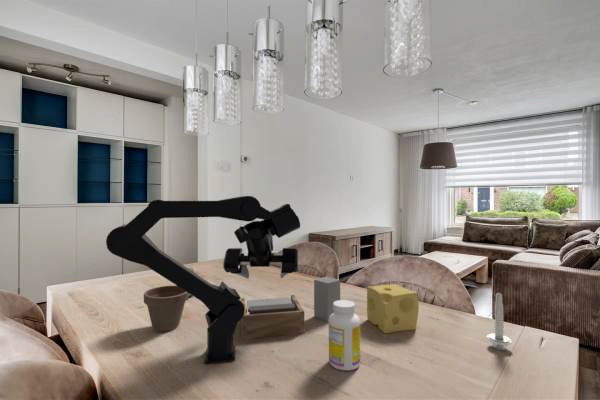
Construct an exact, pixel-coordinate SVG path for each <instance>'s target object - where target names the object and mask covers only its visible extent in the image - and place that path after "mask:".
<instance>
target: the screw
mask: <svg viewBox="0 0 600 400" xmlns="http://www.w3.org/2000/svg"><path fill="white" fill-rule="evenodd" d="M504 312H505V311H504V303H503V294H502V293H501V292H497V293H495V304H494V325H493V326H494V329H493V330H494V333H490V334H488V335H486V339H487V340H488V341H489V342H491V347H492V348H494V349H495V350H497V351H498V350H500V351H505V350H506V349H507V346H509V345H512V340H511V339H510V337H507V336H506V335H504V333H505V332H504V326H505V324H504V320H505V319H504V318H505V317H504V315H505V314H504Z"/></svg>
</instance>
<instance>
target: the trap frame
mask: <svg viewBox="0 0 600 400" xmlns="http://www.w3.org/2000/svg"><path fill="white" fill-rule="evenodd" d="M240 300H241V302H242V303H243V305H244V309H245V311H244V315H243V317H242V319H241V320H240V323H241V337H242V338H241V339H254V338H255V339H256V338H262V337H264V338H265V337H275V336H276V337H277V336H287V335H297V334H304V333H305V310H304V308H303V307H302V305H301V304H300V302H299V301H298V299H297V298H296V296H295V295H294V294H290V300H291V302H292V303H293V304H294V306H295V311H287V312H274V313H261V314H247V313H248V307H246V300H245V297H244V298H243V297H242V298H240Z"/></svg>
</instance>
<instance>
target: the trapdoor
mask: <svg viewBox="0 0 600 400" xmlns="http://www.w3.org/2000/svg"><path fill="white" fill-rule="evenodd" d="M246 306H247V307H246V308H247V313H249V314H261V313H274V312H287V311H295V306H294V304H293V303H292V302H291V297H275V298H264V299H263V298H262V299H260V298H259V299H249V300H246Z"/></svg>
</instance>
